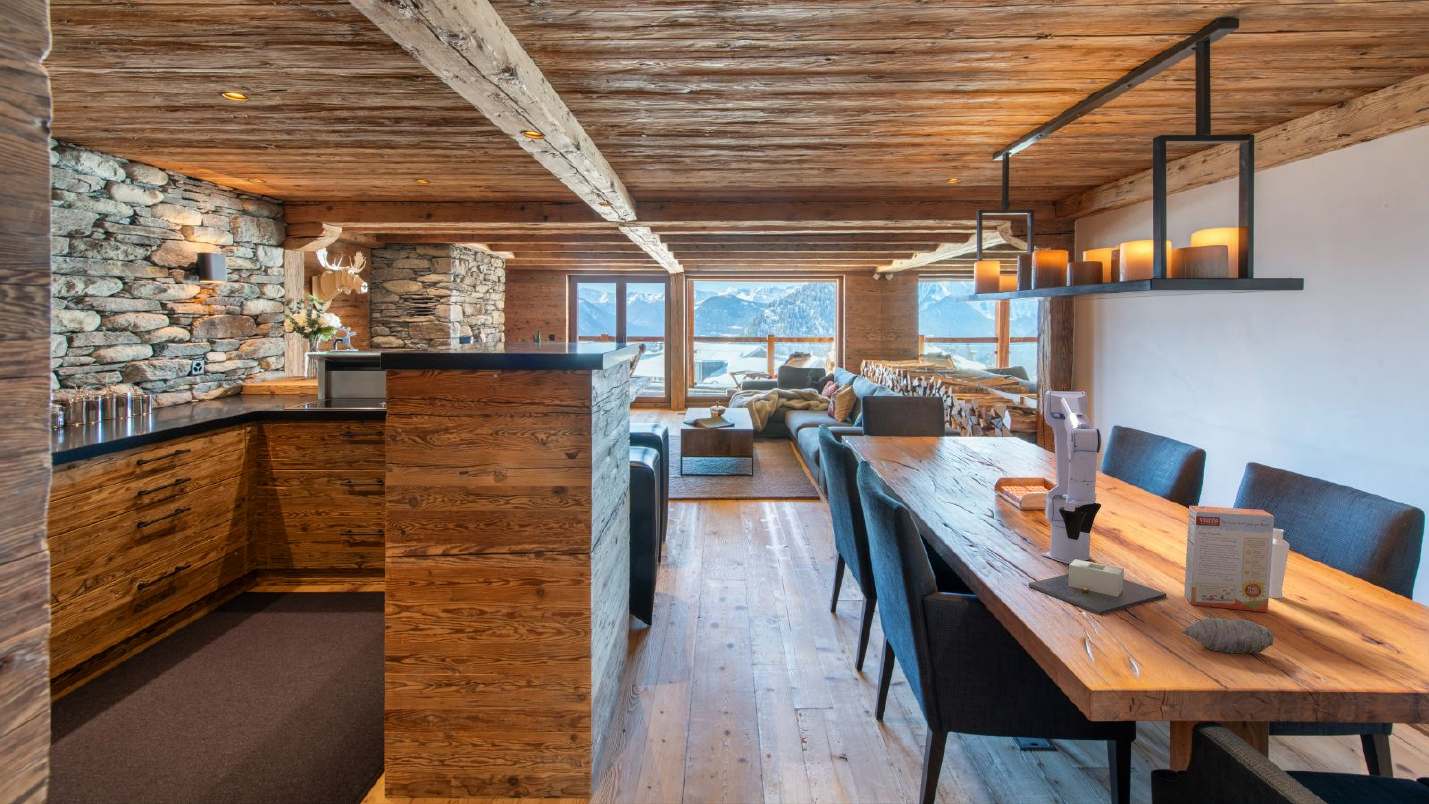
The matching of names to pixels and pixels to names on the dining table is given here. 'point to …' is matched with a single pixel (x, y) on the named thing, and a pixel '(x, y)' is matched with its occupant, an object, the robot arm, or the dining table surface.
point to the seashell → (1230, 635)
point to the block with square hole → (1096, 577)
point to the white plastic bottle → (1278, 563)
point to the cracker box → (1229, 558)
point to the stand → (1097, 595)
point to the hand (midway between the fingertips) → (1079, 535)
